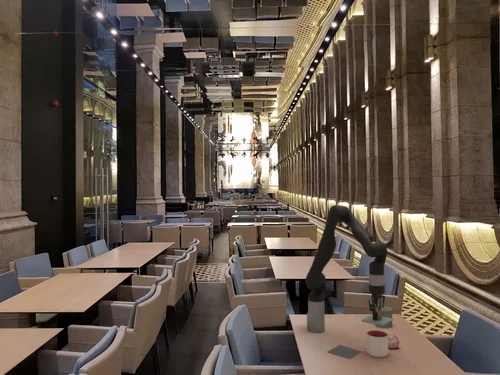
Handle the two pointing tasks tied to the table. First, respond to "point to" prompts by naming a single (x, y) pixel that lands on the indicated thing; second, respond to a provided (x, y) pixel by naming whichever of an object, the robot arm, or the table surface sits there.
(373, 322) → the lid
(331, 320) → the table surface
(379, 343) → the cup
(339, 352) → the mat
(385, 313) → the coffee mug
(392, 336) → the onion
